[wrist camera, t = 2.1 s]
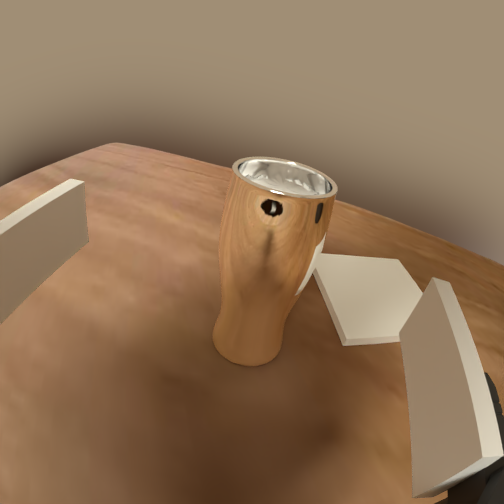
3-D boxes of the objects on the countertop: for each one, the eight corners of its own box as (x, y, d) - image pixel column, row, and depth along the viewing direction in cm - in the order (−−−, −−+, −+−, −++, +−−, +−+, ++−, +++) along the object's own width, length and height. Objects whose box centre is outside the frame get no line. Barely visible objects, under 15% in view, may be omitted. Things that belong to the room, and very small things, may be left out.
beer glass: (298, 360, 26) (363, 200, 18) (221, 379, 23) (254, 198, 15) (267, 306, 31) (305, 158, 23) (198, 316, 28) (215, 153, 20)
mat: (395, 265, 42) (398, 259, 41) (443, 336, 31) (448, 330, 30) (306, 258, 39) (308, 252, 39) (342, 345, 28) (346, 339, 27)
